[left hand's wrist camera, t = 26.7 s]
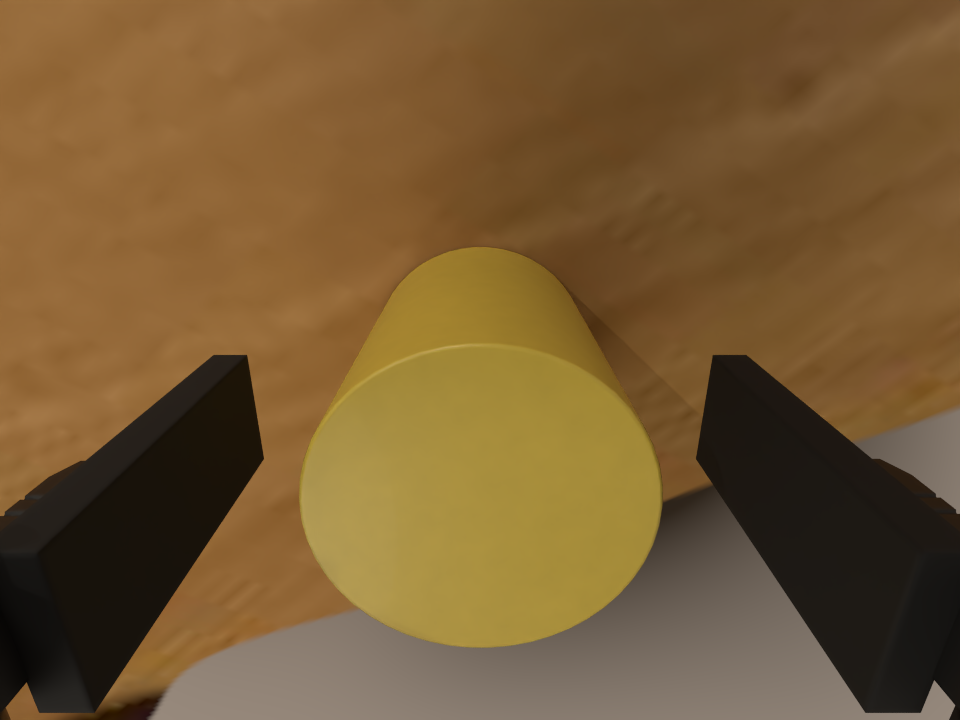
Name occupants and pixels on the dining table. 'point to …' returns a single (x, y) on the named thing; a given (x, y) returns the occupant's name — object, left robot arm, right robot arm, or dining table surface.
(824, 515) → the left robot arm
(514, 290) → the can
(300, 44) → the dining table surface
